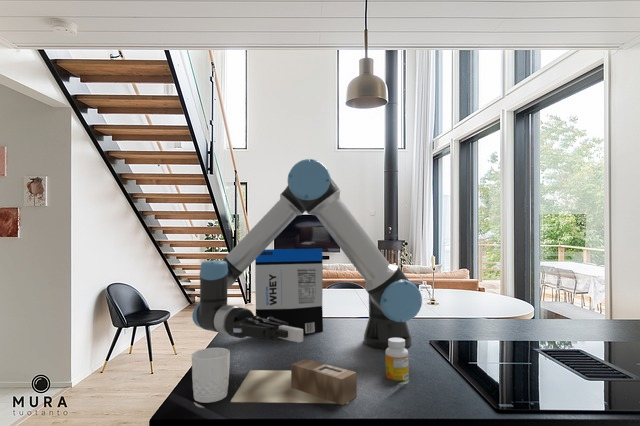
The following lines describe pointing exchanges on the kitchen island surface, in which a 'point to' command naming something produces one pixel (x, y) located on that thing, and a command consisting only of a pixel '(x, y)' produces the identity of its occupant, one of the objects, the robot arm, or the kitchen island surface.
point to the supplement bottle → (397, 360)
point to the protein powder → (290, 287)
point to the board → (272, 389)
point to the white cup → (210, 374)
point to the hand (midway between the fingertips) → (300, 335)
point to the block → (324, 381)
